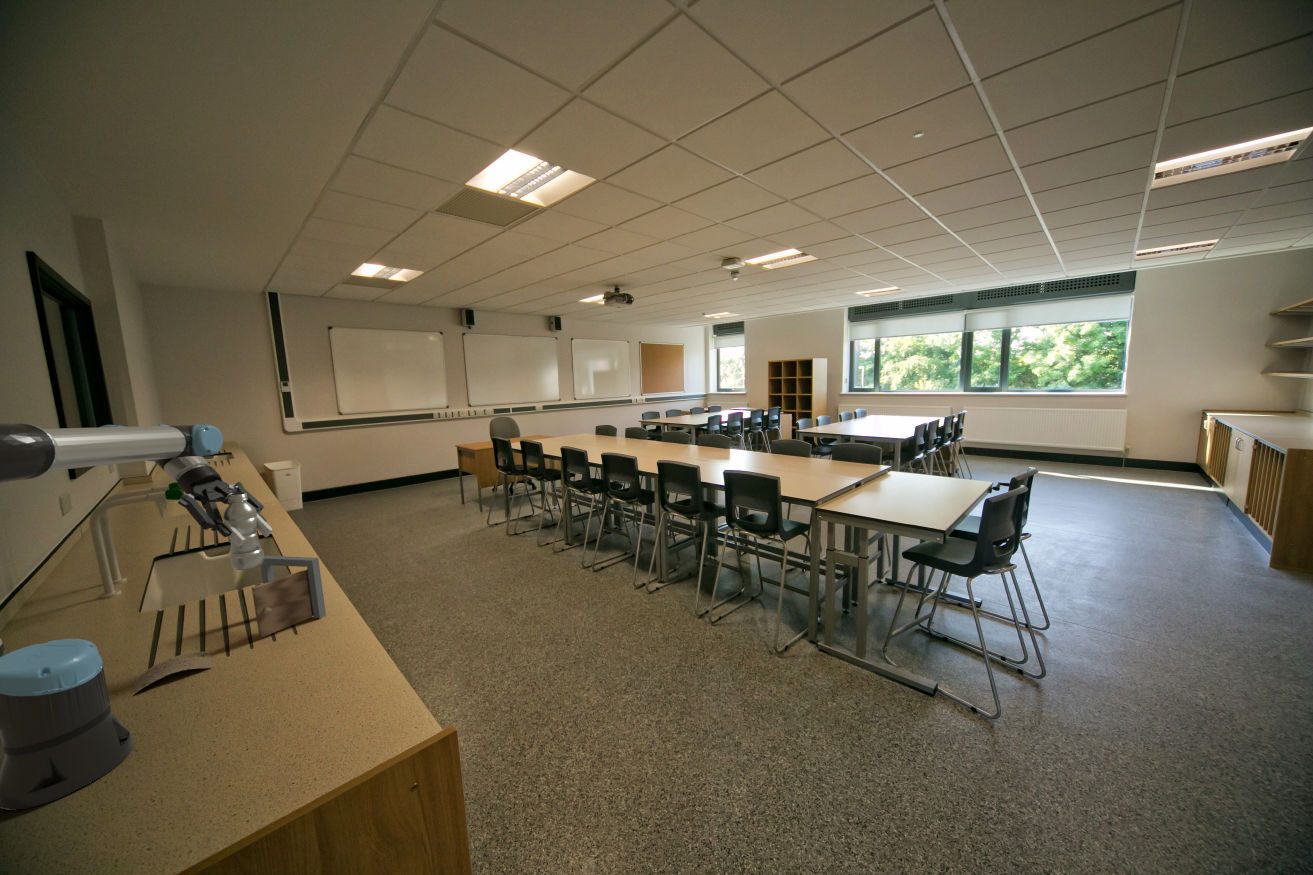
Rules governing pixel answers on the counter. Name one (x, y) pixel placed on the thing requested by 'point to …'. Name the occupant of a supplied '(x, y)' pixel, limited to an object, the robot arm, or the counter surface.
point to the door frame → (313, 576)
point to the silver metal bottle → (244, 532)
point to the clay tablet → (173, 667)
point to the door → (282, 602)
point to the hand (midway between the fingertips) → (255, 537)
